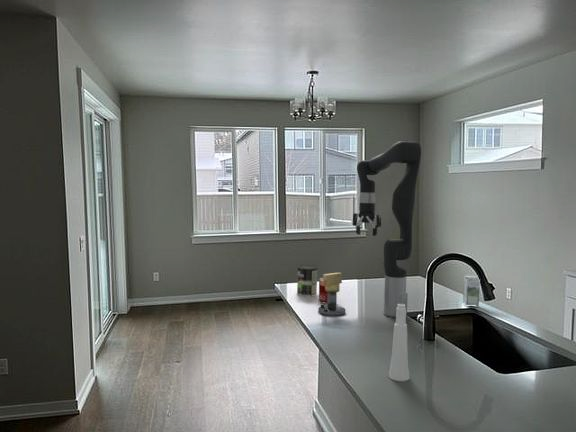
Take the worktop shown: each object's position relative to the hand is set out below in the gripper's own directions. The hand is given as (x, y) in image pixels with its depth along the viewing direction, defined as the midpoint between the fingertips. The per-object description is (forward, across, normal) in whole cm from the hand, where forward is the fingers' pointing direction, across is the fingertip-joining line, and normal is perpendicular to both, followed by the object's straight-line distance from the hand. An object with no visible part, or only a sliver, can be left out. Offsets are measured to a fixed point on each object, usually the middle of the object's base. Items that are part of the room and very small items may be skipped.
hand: (366, 235), depth 226 cm
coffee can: (+32, +29, +8) cm, 44 cm away
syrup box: (+32, -44, -23) cm, 59 cm away
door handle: (+22, +1, +30) cm, 37 cm away
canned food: (+32, +13, +14) cm, 38 cm away
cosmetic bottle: (+32, -51, +75) cm, 96 cm away
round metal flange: (+32, +1, +29) cm, 43 cm away
